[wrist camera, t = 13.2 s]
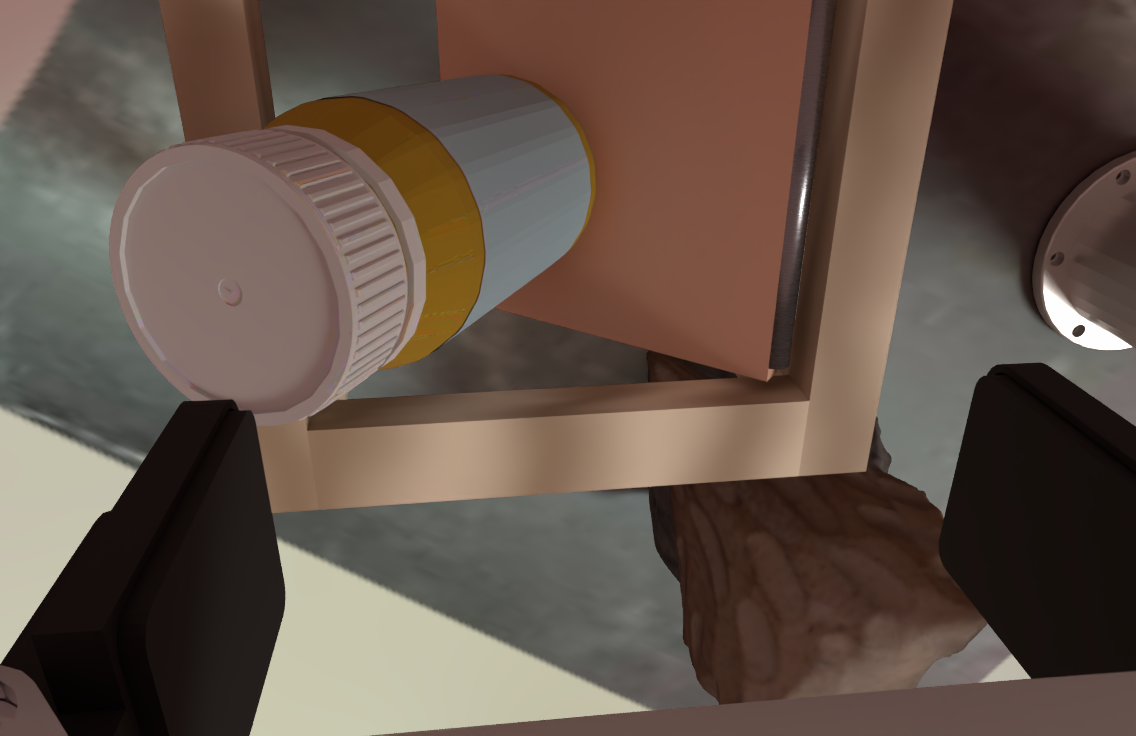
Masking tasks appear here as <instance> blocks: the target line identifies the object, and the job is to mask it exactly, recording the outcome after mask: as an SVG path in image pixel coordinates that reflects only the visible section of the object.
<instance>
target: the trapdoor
mask: <svg viewBox="0 0 1136 736" xmlns="http://www.w3.org/2000/svg"><path fill="white" fill-rule="evenodd" d="M836 1H837V0H436V11H437V28H438V45H439V62H440V79H441V81H442V80H449V79H456V78H463V77H469V76H480V75H493V74H495V75H499V74H504V75H511V76H515V77H518V78H522V79H525V80H529V81H532V82H534V83H536V84H538V85H540V86H541V87H543V88H544V89H546V90H547V91H548V92H550V93H551V94H553V95H554V96H556V97H557V98H558V99H559V100H560V101H562V102H563V103H564V104H565V106H566V107H567V108H568V110H569V111H570V112H571V113H572V115H573V116H574V117H575V119H576V120H577V121H578V123H579V124H580V126H581V128H582V129H583V131H584V134H585V136H586V139H587V142H588V144H589V147H590V150H591V152H592V155H593V160H594V167H595V182H596V191H595V198H594V202H593V207H592V211H591V215H590V218H589V221H588V223H587V225H586V227H585V229H584V230H583V232H582V234H581V235H580V237H579V238H578V240H577V242H576V243H575V244H574V245H573V247H572V248H571V249H570V250H568V251H567V252H566V254H565V255H563V256H562V257H561V258H560V259H558V260H557V261H556V262H555V263H553V264H552V265H551V266H550V267H548V268H547V269H546V270H544V271H543V272H542V273H540V274H539V275H537V276H536V277H535V278H533V279H532V280H531V281H529V282H528V283H527V284H525V285H524V286H523V287H521V288H520V289H519V290H517V291H516V292H514V293H513V294H512V295H510V296H509V297H508V298H506V299H505V300H504V301H502V302H501V303H500V304H498V305H497V306H495V307H494V308H495V309H499V310H503V311H506V312H510V313H514V314H518V315H521V316H525V317H529V318H532V319H536V320H540V321H543V322H547V323H551V324H555V325H558V326H562V327H566V328H569V329H573V330H577V331H581V332H584V333H588V334H592V335H595V336H599V337H603V338H606V339H610V340H614V341H618V342H621V343H625V344H629V345H632V346H636V347H640V348H644V349H647V350H651V351H655V352H658V353H662V354H666V355H669V356H673V357H677V358H681V359H684V360H688V361H692V362H695V363H699V364H703V365H707V366H710V367H714V368H718V369H721V370H725V371H729V372H732V373H736V374H740V375H744V376H747V377H751V378H755V379H758V380H762V381H766V382H767V381H768V380H769V379H770V378H771V377H772V376H773V375H774V374H775V373H776V372H777V371H778V370H781V369H785V368H787V367H788V366H789V361H790V354H791V346H792V338H793V331H794V323H795V315H796V308H797V300H798V292H799V285H800V277H801V269H802V261H803V254H804V246H805V238H806V231H807V223H808V215H809V208H810V200H811V192H812V185H813V177H814V169H815V162H816V154H817V146H818V139H819V131H820V123H821V116H822V108H823V100H824V93H825V85H826V77H827V70H828V62H829V54H830V47H831V39H832V31H833V24H834V16H835V8H836Z"/></svg>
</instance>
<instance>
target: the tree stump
mask: <svg viewBox="0 0 1136 736" xmlns="http://www.w3.org/2000/svg"><path fill="white" fill-rule="evenodd" d="M647 361H648V381H649V383H654V382H672V381H690V380H708V379H726V378H738V377H737V376H736V374H735V373H732V372H729V371H725V370H721V369H718V368H714V367H710V366H707V365H703V364H699V363H695V362H692V361H688V360H684V359H681V358H677V357H673V356H669V355H666V354H662V353H658V352H655V351H648V353H647ZM880 434H881V430H880V427H879V425H878V418H877V416H876V420H875V426H874V431H873V436H872V442H871V447H870V453H869V458H868V463H867V469H866V472H851V473H837V474H823V475H809V476H794V477H780V478H766V479H751V480H737V481H723V482H708V483H694V484H680V485H666V486H651V487H649V504H650V511H651V518H652V525H653V534H654V542H655V546H656V549H657V552H658V553H659V555H660V557H661V558H662V560H663V561H664V563H665V565H666V566H667V567H668V569H669V570H670V571H671V572H672V574H673V575H674V576H675V577H676V579H677V580H678V581H679V582H680V587H681V594H682V607H683V640H684V643H685V645H686V646H688V647H689V653H690V657H691V661H692V665H693V667H694V669H695V672H696V677H697V680H698V681H699V683H700V684H701V686H702V687H703V689H704V690H706V691H707V692H708V693H709V694H710V695H712V696H713V697H715V698H716V699H717V700H718V702H719V705H723V704H735V703H746V702H758V701H770V700H781V699H793V698H804V697H816V696H828V695H839V694H851V693H863V692H875V691H887V690H899V689H911V688H916V686H917V685H918V683H919V681H920V679H921V678H922V676H923V675H924V674H925V672H926V671H927V670H928V668H929V667H930V666H931V665H932V664H933V663H934V662H935V661H936V660H938V659H940V658H942V657H950V656H951V655H952V654H955V653H958V652H960V651H962V650H963V649H964V648H965V647H966V646H967V644H968V643H969V642H970V641H971V640H972V639H973V638H974V637H975V636H976V635H977V634H978V633H979V632H980V631H981V630H982V629H983V628H984V627H985V626H986V625H987V622H986V620H985V619H984V618H983V617H982V615H981V614H980V613H979V611H978V610H977V609H976V608H975V606H974V605H973V604H972V603H971V601H970V600H969V599H968V597H967V596H966V595H965V594H964V592H963V591H962V590H961V589H960V587H959V586H958V585H957V584H956V582H955V581H954V580H953V578H952V577H951V576H950V575H949V573H948V572H947V571H946V569H945V568H944V566H943V564H942V562H941V559H940V555H939V546H938V545H939V538H940V534H941V529H942V525H943V521H944V518H943V515H942V513H941V511H940V510H939V509H938V508H937V507H935V506H934V505H933V504H932V503H930V502H929V500H928V499H927V497H926V493H925V492H924V491H919V490H918V489H917V488H916V487H914V486H912V485H909V484H907V483H906V482H905V481H902V480H900V479H897V478H895V477H894V476H892V475H890V474H887V473H888V468H889V466H890V463H891V456H890V454H889V453H888V452H887V451H886V450H885V448H884V446H883V444H882V442H881V439H880Z"/></svg>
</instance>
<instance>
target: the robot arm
mask: <svg viewBox="0 0 1136 736" xmlns="http://www.w3.org/2000/svg"><path fill="white" fill-rule="evenodd" d="M1032 283H1033V295H1034V298H1035V301H1036V304H1037V308H1038V311H1039V312H1040V314H1041V315H1042V317H1043V319H1044V320H1045V322H1046V323H1047V324H1048V325H1049V326H1050V327H1051V328H1052V329H1053V330H1054V331H1055V332H1056V333H1057V334H1059V335H1060V336H1062V337H1064V338H1065V339H1067V340H1068V341H1070V342H1072V343H1074V344H1077V345H1079V346H1082V347H1084V348H1088V349H1095V350H1102V351H1106V350H1121V349H1125V348H1130V347H1134V348H1136V151H1133V152H1131V153H1128V154H1126V155H1123V156H1121V157H1119V158H1116V159H1114V160H1112V161H1111V162H1109V163H1107V164H1106V165H1104V166H1102V167H1101V168H1099V169H1098V170H1096V171H1094V172H1093V173H1092V174H1091V175H1090V176H1088V177H1087V178H1086V179H1085V180H1084V181H1082V182H1081V183H1080V184H1079V185H1078V186H1077V187H1076V188H1075V189H1074V190H1073V191H1072V192H1071V193H1070V194H1069V195H1068V197H1067V198H1066V199H1065V200H1064V201H1063V202H1062V203H1061V205H1060V206H1059V208H1058V209H1057V211H1056V212H1055V214H1054V215H1053V216H1052V218H1051V219H1050V221H1049V223H1048V225H1047V227H1046V229H1045V231H1044V233H1043V235H1042V237H1041V239H1040V242H1039V245H1038V249H1037V252H1036V255H1035V259H1034V266H1033V275H1032ZM938 546H939V555H940V559H941V562H942V564H943V566H944V568H945V569H946V571H947V572H948V573H949V575H950V576H951V577H952V578H953V580H954V581H955V582H956V584H957V585H958V586H959V587H960V589H961V590H962V591H963V592H964V594H965V595H966V596H967V597H968V599H969V600H970V601H971V603H972V604H973V605H974V606H975V608H976V609H977V610H978V611H979V613H980V614H981V615H982V617H983V618H984V619H985V620H986V622H987V623H988V624H989V625H990V627H991V628H992V629H993V631H994V632H995V633H996V634H997V636H998V637H999V638H1000V639H1001V641H1002V642H1003V643H1004V644H1005V646H1006V647H1007V648H1008V650H1009V651H1010V652H1011V653H1012V655H1013V656H1014V657H1015V658H1016V660H1017V661H1018V662H1019V664H1020V665H1021V666H1022V667H1023V669H1024V670H1025V671H1026V672H1027V674H1028V675H1029V676H1030V677H1031V679H1022V680H1009V681H998V682H985V683H972V684H960V685H948V686H936V687H923V688H911V689H899V690H887V691H875V692H863V693H851V694H839V695H828V696H816V697H804V698H793V699H781V700H770V701H758V702H746V703H735V704H723V705H712V706H700V707H688V708H677V709H665V710H653V711H641V712H630V713H619V714H607V715H595V716H584V717H574V718H563V719H553V720H541V721H529V722H518V723H507V724H496V725H485V726H473V727H462V728H451V729H440V730H430V731H429V730H428V731H417V732H406V733H395V734H384V735H372V736H1136V426H1134V425H1133V424H1131V423H1130V422H1128V421H1127V420H1125V419H1124V418H1123V417H1121V416H1120V415H1118V414H1117V413H1115V412H1114V411H1112V410H1111V409H1110V408H1108V407H1107V406H1105V405H1104V404H1102V403H1101V402H1100V401H1098V400H1097V399H1095V398H1094V397H1092V396H1091V395H1089V394H1088V393H1087V392H1085V391H1084V390H1082V389H1081V388H1079V387H1078V386H1076V385H1075V384H1074V383H1072V382H1071V381H1069V380H1068V379H1066V378H1065V377H1064V376H1062V375H1061V374H1059V373H1058V372H1056V371H1055V370H1053V369H1052V368H1051V367H1049V366H1048V365H1045V364H1043V363H1022V364H1001V365H996V366H994V367H993V368H991V370H990V371H989V372H988V374H987V376H983V377H981V378H980V379H979V380H978V382H977V383H976V386H975V389H974V393H973V398H972V402H971V406H970V410H969V415H968V419H967V423H966V427H965V432H964V436H963V440H962V444H961V449H960V453H959V457H958V461H957V466H956V470H955V474H954V478H953V483H952V487H951V491H950V495H949V500H948V504H947V508H946V512H945V517H944V521H943V525H942V529H941V534H940V538H939V545H938ZM284 608H285V584H284V578H283V573H282V567H281V562H280V556H279V550H278V544H277V539H276V533H275V527H274V522H273V516H272V511H271V505H270V499H269V494H268V488H267V483H266V477H265V471H264V466H263V460H262V454H261V449H260V443H259V438H258V432H257V426H256V421H255V417H254V415H253V412H252V411H251V410H240V411H239V409H238V407H237V404H236V402H235V401H234V400H233V399H227V400H205V401H183V402H182V403H181V404H180V405H179V407H178V409H177V410H176V412H175V413H174V415H173V416H172V418H171V419H170V421H169V422H168V424H167V425H166V427H165V429H164V430H163V432H162V433H161V435H160V436H159V438H158V439H157V441H156V442H155V444H154V446H153V447H152V449H151V450H150V452H149V453H148V455H147V456H146V458H145V459H144V461H143V462H142V464H141V466H140V467H139V469H138V470H137V472H136V473H135V475H134V477H133V478H132V480H131V481H130V482H129V484H128V486H127V487H126V489H125V490H124V492H123V493H122V495H121V496H120V498H119V500H118V501H117V503H116V504H115V506H114V507H113V509H112V510H111V511H108V512H105V513H103V514H102V515H101V516H100V517H99V518H98V519H97V520H96V521H95V523H94V524H93V526H92V527H91V529H90V531H89V532H88V533H87V535H86V536H85V538H84V539H83V541H82V543H81V544H80V545H79V547H78V548H77V550H76V551H75V553H74V555H73V556H72V557H71V559H70V560H69V562H68V564H67V565H66V566H65V568H64V569H63V571H62V572H61V574H60V575H59V577H58V578H57V580H56V582H55V583H54V585H53V586H52V588H51V589H50V591H49V592H48V594H47V595H46V597H45V598H44V600H43V601H42V603H41V604H40V606H39V607H38V609H37V610H36V612H35V613H34V615H33V616H32V618H31V619H30V621H29V622H28V624H27V625H26V627H25V628H24V630H23V631H22V633H21V634H20V636H19V637H18V639H17V640H16V642H15V643H14V645H13V646H12V648H11V649H10V651H9V652H8V654H7V655H6V657H5V658H4V660H3V661H2V663H1V664H0V736H249V735H250V732H251V728H252V725H253V721H254V717H255V714H256V711H257V707H258V703H259V699H260V696H261V693H262V689H263V686H264V682H265V679H266V675H267V671H268V668H269V664H270V661H271V657H272V653H273V650H274V647H275V643H276V639H277V636H278V632H279V629H280V625H281V622H282V618H283V614H284Z"/></svg>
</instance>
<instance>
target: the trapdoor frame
mask: <svg viewBox="0 0 1136 736" xmlns="http://www.w3.org/2000/svg"><path fill="white" fill-rule="evenodd" d="M159 5H160V10H161V15H162V20H163V26H164V31H165V36H166V42H167V47H168V52H169V57H170V63H171V68H172V73H173V78H174V84H175V89H176V94H177V99H178V105H179V110H180V115H181V121H182V126H183V131H184V136H185V142H187V141H193V140H199V139H204V138H210V137H215V136H221V135H226V134H232V133H237V132H243V131H250V130H263V129H264V128H265V127H266V126H267V125H268V124H269V123H270V122H271V121H272V120H274V119H275V112H274V105H273V98H272V91H271V84H270V77H269V70H268V63H267V56H266V49H265V42H264V35H263V28H262V21H261V14H260V7H259V0H159ZM952 5H953V0H837V5H836V13H835V21H834V28H833V36H832V44H831V51H830V59H829V67H828V74H827V82H826V90H825V97H824V105H823V113H822V120H821V128H820V136H819V143H818V151H817V158H816V166H815V174H814V181H813V189H812V197H811V204H810V212H809V220H808V227H807V235H806V243H805V250H804V258H803V266H802V273H801V281H800V289H799V296H798V304H797V312H796V319H795V323H794V331H793V338H792V346H791V354H790V361H789V366H788V367H787V368H785V369H781V370H778V371H777V372H776V373H775V374H774V375H773V376H772V377H771V378H770V379H769V380H768V381H767V382H766V381H762V380H758V379H755V378H751V377H747V376H744V375H740V374H736V373H735V374H736V376H737V377H738V378H726V379H708V380H690V381H672V382H654V383H636V384H618V385H599V386H581V387H563V388H545V389H527V390H509V391H491V392H473V393H455V394H437V395H419V396H401V397H383V398H365V399H347V397H348V393H349V391H348V392H347V393H346V394H344V395H343V396H341V397H340V398H338V399H337V400H335V401H334V402H333V403H331V404H330V405H328V406H327V407H325V408H324V409H322V410H320V411H319V412H317V413H316V414H314V415H312V416H307V417H306V418H305V419H303V420H297V421H294V422H292V423H287V424H283V425H276V426H257V432H258V438H259V443H260V449H261V454H262V460H263V466H264V471H265V477H266V483H267V488H268V494H269V499H270V505H271V511H272V513H280V512H294V511H308V510H323V509H337V508H351V507H366V506H380V505H394V504H408V503H423V502H437V501H451V500H466V499H480V498H494V497H508V496H523V495H537V494H551V493H566V492H580V491H594V490H608V489H623V488H637V487H651V486H666V485H680V484H694V483H708V482H723V481H737V480H751V479H766V478H780V477H794V476H809V475H823V474H837V473H851V472H866V469H867V463H868V458H869V453H870V447H871V442H872V436H873V431H874V426H875V420H876V415H877V409H878V404H879V399H880V393H881V388H882V382H883V377H884V372H885V366H886V361H887V356H888V350H889V345H890V339H891V334H892V329H893V323H894V318H895V312H896V307H897V302H898V296H899V291H900V285H901V280H902V275H903V269H904V264H905V259H906V253H907V248H908V242H909V237H910V232H911V226H912V221H913V215H914V210H915V205H916V199H917V194H918V188H919V183H920V178H921V172H922V167H923V162H924V156H925V151H926V145H927V140H928V135H929V129H930V124H931V118H932V113H933V108H934V102H935V97H936V91H937V86H938V81H939V75H940V70H941V64H942V59H943V54H944V48H945V43H946V38H947V32H948V27H949V21H950V16H951V11H952Z"/></svg>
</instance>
